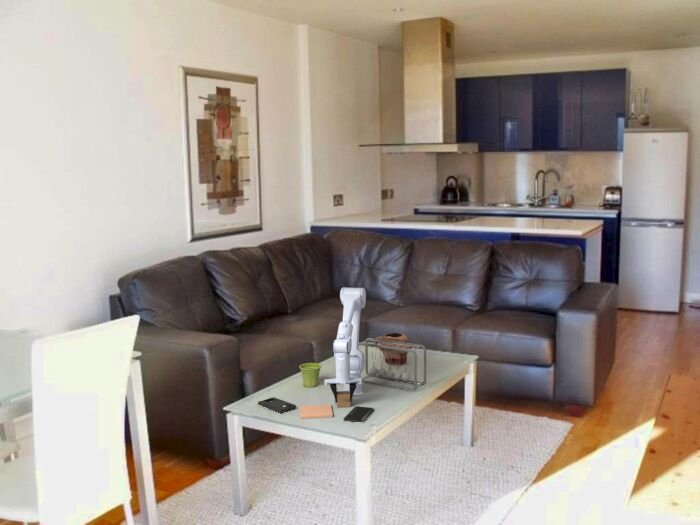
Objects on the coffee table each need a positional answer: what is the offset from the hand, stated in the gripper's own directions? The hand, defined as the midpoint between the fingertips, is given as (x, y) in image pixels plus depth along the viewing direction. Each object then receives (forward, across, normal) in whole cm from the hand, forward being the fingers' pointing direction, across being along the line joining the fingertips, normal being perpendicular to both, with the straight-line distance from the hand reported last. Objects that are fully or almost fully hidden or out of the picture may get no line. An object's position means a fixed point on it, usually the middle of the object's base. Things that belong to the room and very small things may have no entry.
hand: (343, 401), depth 286 cm
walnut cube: (+1, 0, 0) cm, 1 cm away
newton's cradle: (+2, +22, +26) cm, 34 cm away
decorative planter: (+2, +28, +57) cm, 64 cm away
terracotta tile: (+1, -11, -7) cm, 13 cm away
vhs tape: (+2, -26, +1) cm, 26 cm away
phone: (+2, +5, -12) cm, 13 cm away
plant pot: (+2, -12, +27) cm, 30 cm away
